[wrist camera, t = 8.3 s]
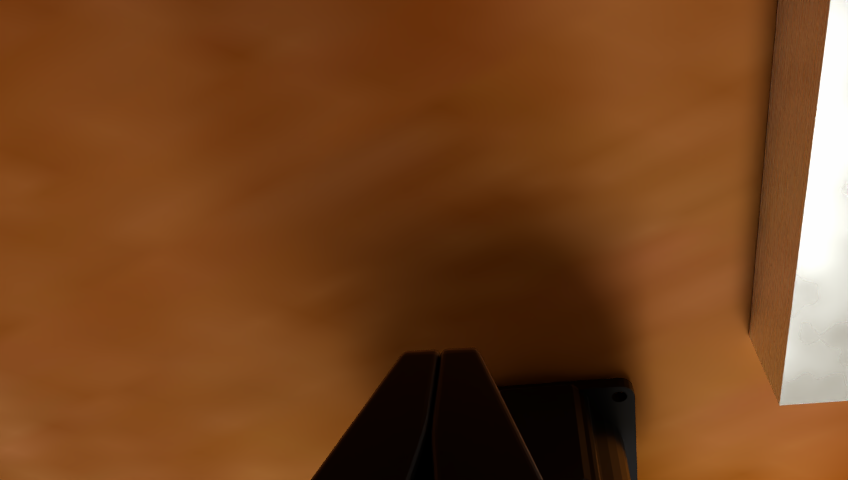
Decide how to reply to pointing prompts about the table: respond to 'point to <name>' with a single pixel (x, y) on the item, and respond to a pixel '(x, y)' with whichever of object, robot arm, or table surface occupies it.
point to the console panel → (805, 209)
